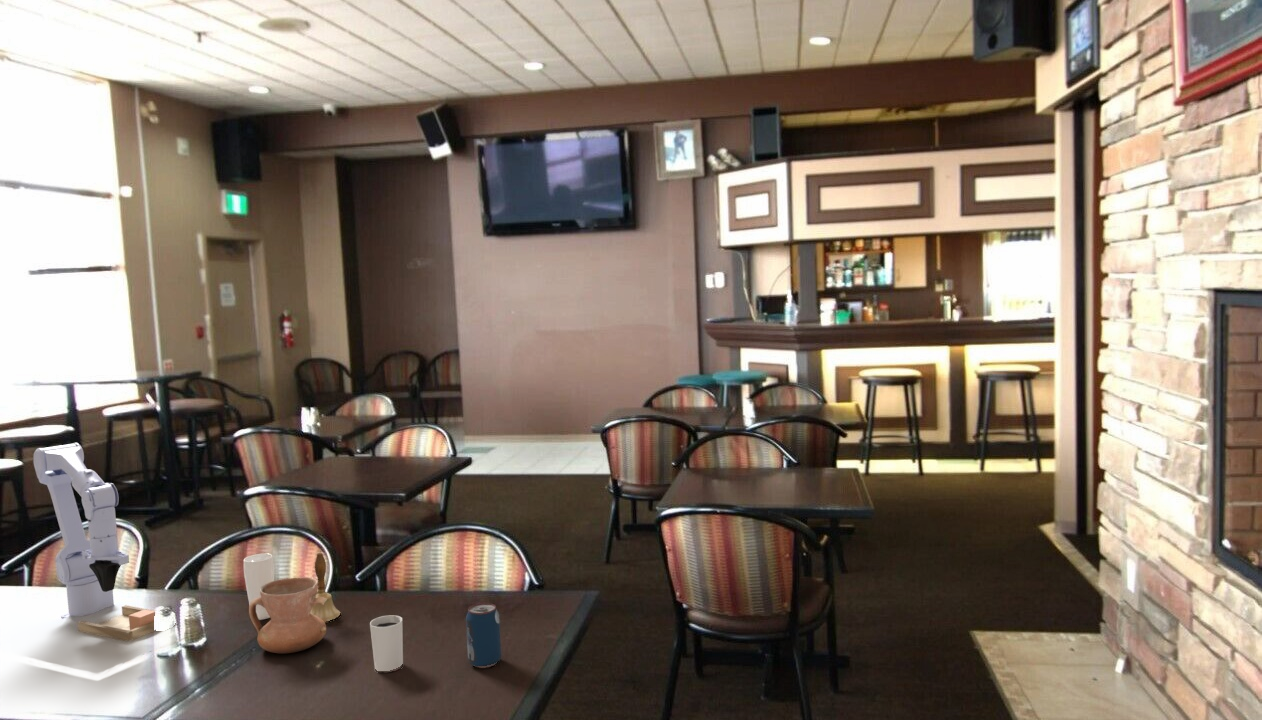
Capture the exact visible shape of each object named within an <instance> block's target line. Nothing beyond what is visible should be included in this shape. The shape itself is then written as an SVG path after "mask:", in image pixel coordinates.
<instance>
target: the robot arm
mask: <svg viewBox="0 0 1262 720" xmlns="http://www.w3.org/2000/svg"><path fill="white" fill-rule="evenodd" d="M84 453H85V452H84V449H83V448H82V446H81V444H79V443H78V442H73V443H68V444H63V445H62V444H61V445H54V446H48V447H38V448H36V449H35V451H34V452H33V457H32V458H33V467H34V470H35V474H36V478H37V479H38V482H39V483H40V484H43V485H46V486H47V489H48V491H49V494H50V498H51V501H52V505H53V508H54V512H55V516H56V519H57V522H58V526H59V530H60V533H61V536H62V540H63V544H64V547H62V548H61V549H60V550H59V551H58V552H57V554H56V556H55V560H54V562H55V571H56V576H57V577H56V578H57V579H58V580H59V582H60V583H62V584H63V585H65V586H66V587H65V588H66V597H67V605H68V606H67V607H68V613H66V614H63V615H61V616H60V618H61V619H65V618H68V617H71V616H72V617H81V616H89V615H91V614H94V613H98V612H99V611H101V610H103V609H104V610H105V609H106V608H109V607H112V606H114V603H115V601H114V589H115V584H116V579H117V576H118V573H119V570H120V568H121V566H123V565H126V564H129V563H130V557H129V554H126V553H124V552H122V551H121V550H119V541H118V530H117V529H118V528H117V518H116V508H115V507H117V506H118V505H119V501H120V500H119V493H118V489H117V487H116V486H115V484H114V483H112V482H105V481H104V480H103V479H102V478H101V477H100V475H98V473H97V472H96V471H95V470H93V469H88V468H87V467H86V464H85V463H84V460H85V454H84ZM73 489H74V490H75V491H76V492H77V494H79V496H80V497H81V504H82V507H83V510H84V516H85V519H87V524H88V526H87V527H88V535H89V539H87V537H86V531H85V530H84V525H83V522H82V519H81V516H80V511H79V508H78V505H77V501H76V497H75V495H74V490H73Z"/></svg>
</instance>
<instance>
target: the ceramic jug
mask: <svg viewBox="0 0 1262 720" xmlns="http://www.w3.org/2000/svg"><path fill="white" fill-rule="evenodd" d="M316 594H318V579H316V578H312V577H309V576H308V577H307V576H306V577H305V576H303V577H300V576H299V577H292V578H291V577H290V578H288V577H287V578H281V579H276V580H274V581H271V582H269V583H266V584H264V585H263V586H262V587H261V588H260V595H261V598H256V599H254V600H253V601H252V602H251V603H250V606H249V607H248V615H249V618H250V620H251V622H252V625H253V626H254V628H255V630H256V632H257V639H256V640H257V643H258V646H260V648H262V649H263V650H264V651H267V652H269V653H275V654H292V653H298V652H302V651H304V650H308V649H309V648H311V647H313V646H315V645H316V644H318V643H319V642H320V641H321V640H322V639H323V638H324V637H325V636H326V633H327V625H326V622H324V621H323V620H322V619H321V618H319V617H317V616H315V615H313V614H311V613H310V612H311V610H312V607H313V606H314V605H316V604H318V603H320V604H322V605H324V603H325V601H327V599H326V598H324V597H318V598H316ZM256 605H261V606H263V607H264V608H265V609H266V611H267V613H268V614H269V616H270V618H269V619H270V620H269V621H267V623H266V624H265V625H263V626H262V624H261V620H259V619H258V617H257V613H256Z"/></svg>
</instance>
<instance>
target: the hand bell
mask: <svg viewBox="0 0 1262 720" xmlns="http://www.w3.org/2000/svg"><path fill="white" fill-rule="evenodd" d="M314 570H315V575H316V578H317V582H318V589H317V594H316V598H318V597H324V598H326V599H327V601H325V603H324V605H322V604H320V603H318V604H316V605H314V606H313V607H312V610H311V612H310V613H311V614H313V615H315V616H317V617H319V618H321V619H322V620H323V621H324V622H325V623H327V622H326V621H330V620H332V619H335V618H336V617H338V616H339V615H340V613H341V612H340V610H338V608H336V606H335V604H334V602H333V597H332V595H331V593H328V592H327V591H326V584H325V583H326V581H325V576H326V572H327V562H326V560H325V557H324V555H323V553H322V552H318V553H316V558H315V561H314ZM330 622H331V621H330Z"/></svg>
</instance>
